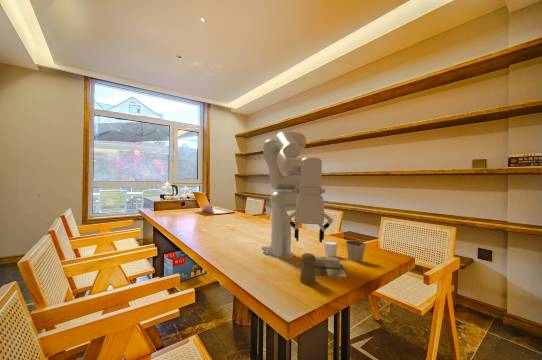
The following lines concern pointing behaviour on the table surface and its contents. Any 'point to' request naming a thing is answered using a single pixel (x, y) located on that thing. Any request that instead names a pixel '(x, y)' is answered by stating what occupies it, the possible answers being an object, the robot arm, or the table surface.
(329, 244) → the shot glass
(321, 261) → the jaw
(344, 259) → the table surface
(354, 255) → the flower pot
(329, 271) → the board
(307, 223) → the robot arm
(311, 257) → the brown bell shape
